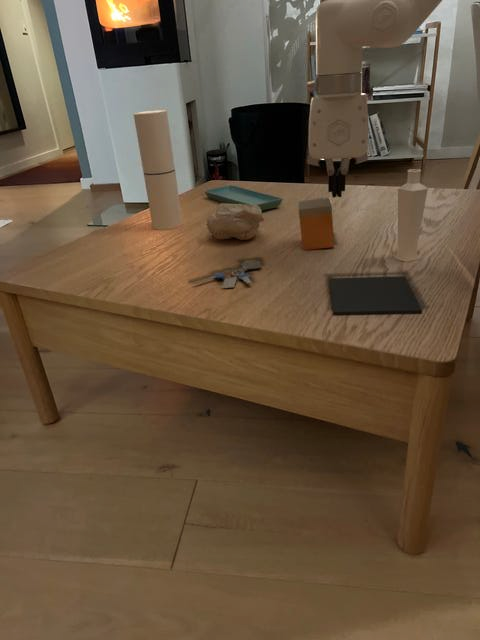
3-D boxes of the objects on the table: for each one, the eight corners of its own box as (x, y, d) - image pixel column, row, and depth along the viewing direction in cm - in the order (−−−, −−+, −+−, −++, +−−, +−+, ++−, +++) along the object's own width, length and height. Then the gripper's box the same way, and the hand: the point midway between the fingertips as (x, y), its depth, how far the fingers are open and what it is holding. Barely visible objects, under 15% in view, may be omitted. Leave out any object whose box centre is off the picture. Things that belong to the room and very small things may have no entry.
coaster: (404, 278, 76) (405, 275, 76) (422, 313, 65) (422, 310, 65) (328, 281, 77) (328, 278, 77) (333, 315, 67) (333, 311, 67)
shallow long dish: (203, 197, 135) (202, 189, 134) (231, 191, 139) (230, 183, 138) (253, 215, 115) (253, 205, 114) (284, 208, 119) (283, 198, 118)
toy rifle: (251, 261, 88) (251, 257, 88) (284, 271, 82) (284, 266, 82) (192, 286, 80) (191, 281, 79) (224, 298, 74) (224, 294, 74)
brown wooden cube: (329, 197, 92) (298, 201, 93) (331, 205, 87) (298, 209, 88) (332, 236, 95) (302, 240, 96) (334, 246, 90) (302, 250, 91)
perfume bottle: (415, 264, 81) (424, 174, 74) (390, 260, 83) (396, 172, 76) (424, 255, 84) (434, 168, 77) (400, 251, 86) (407, 166, 79)
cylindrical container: (148, 230, 111) (128, 114, 100) (158, 221, 117) (140, 111, 106) (177, 229, 110) (160, 112, 98) (186, 220, 116) (171, 109, 104)
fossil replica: (208, 234, 105) (210, 252, 97) (201, 198, 101) (202, 214, 92) (262, 224, 105) (268, 242, 97) (257, 188, 101) (263, 203, 92)
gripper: (293, 91, 78) (296, 202, 86) (387, 83, 76) (380, 198, 84) (294, 89, 84) (296, 193, 93) (380, 82, 82) (374, 188, 91)
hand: (336, 195), depth 88 cm, fingers closed
